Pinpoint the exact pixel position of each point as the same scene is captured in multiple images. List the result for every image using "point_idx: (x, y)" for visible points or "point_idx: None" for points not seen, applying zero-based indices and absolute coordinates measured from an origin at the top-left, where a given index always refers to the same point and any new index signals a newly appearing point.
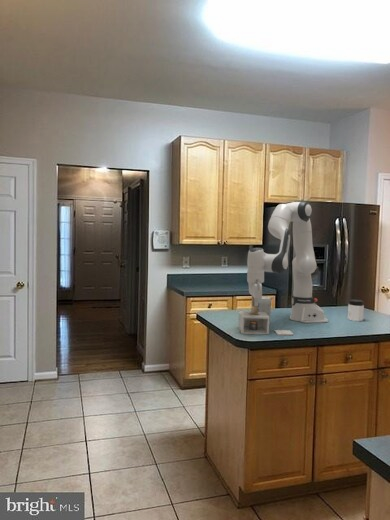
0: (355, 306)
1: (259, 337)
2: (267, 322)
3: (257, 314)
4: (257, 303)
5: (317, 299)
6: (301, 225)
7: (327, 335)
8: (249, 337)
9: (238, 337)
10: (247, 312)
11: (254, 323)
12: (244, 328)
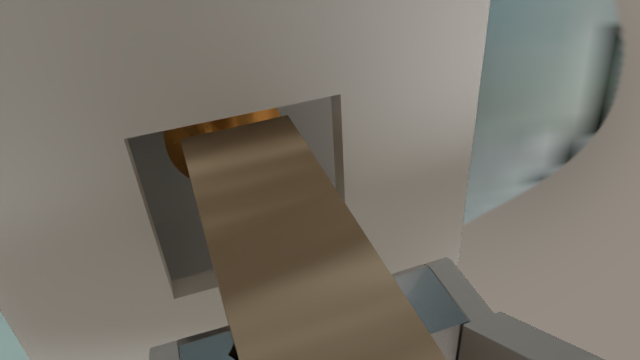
0: None
1: (502, 6)
2: None
3: (300, 143)
4: (475, 300)
5: None
6: None
7: None
8: (496, 102)
9: (491, 186)
10: (126, 314)
11: (278, 113)
12: (177, 189)
